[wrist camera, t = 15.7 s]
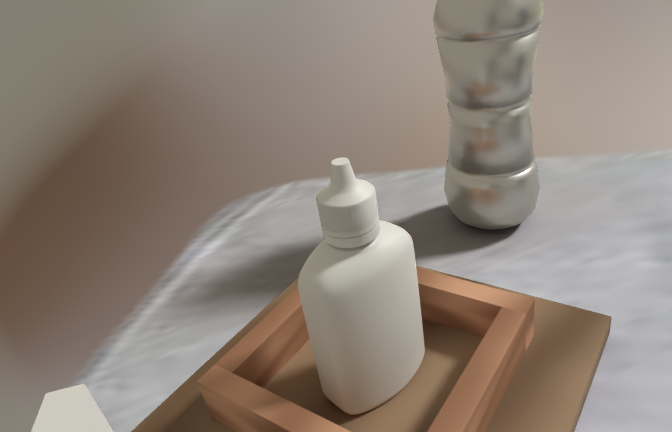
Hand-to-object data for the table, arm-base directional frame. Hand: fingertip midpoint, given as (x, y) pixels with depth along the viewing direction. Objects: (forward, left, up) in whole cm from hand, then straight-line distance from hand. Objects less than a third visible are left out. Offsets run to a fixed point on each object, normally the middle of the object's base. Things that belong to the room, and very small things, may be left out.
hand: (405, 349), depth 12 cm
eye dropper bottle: (+7, -8, -12) cm, 16 cm away
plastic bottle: (+8, -26, -14) cm, 30 cm away
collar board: (+7, -8, -13) cm, 17 cm away
